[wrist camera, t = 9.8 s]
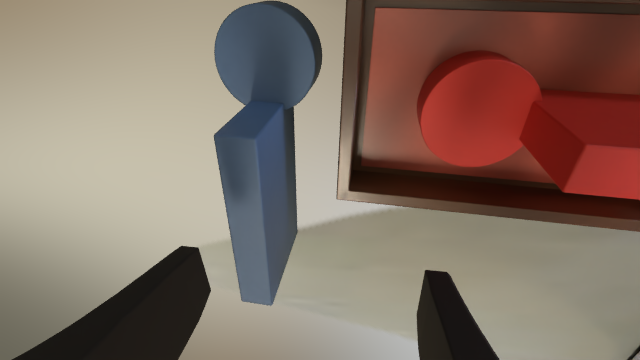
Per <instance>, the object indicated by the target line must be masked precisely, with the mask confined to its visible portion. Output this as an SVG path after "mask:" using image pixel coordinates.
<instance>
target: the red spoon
mask: <svg viewBox="0 0 640 360" xmlns="http://www.w3.org/2000/svg"><path fill="white" fill-rule="evenodd" d="M417 116H418V121H419V125H420V129H421V133H422V136H423V139H424V141H425V143H426V145H427V146H428V148H429V149H430V150H431V151H432V152H433V153H434V154H435V155H436V156H437V157H439V158H440V159H442V160H443V161H445V162H448V163H450V164H453V165H457V166H463V167H480V166H485V165H489V164H493V163H496V162H498V161H501V160H503V159H505V158H507V157H509V156H510V155H512V154H513V153H515V152H516V151H517V150H519V149H520V148H521V147H522V146H523V145H524V146H525V147H526V149H527V150H528V151H529V152H530V153H531V155H532V156H533V157H534V158H535V159H536V161H537V162H538V163H539V164H540V165H541V167H542V168H543V169H544V170H545V171H546V173H547V174H548V175H549V176H550V177H551V179H552V180H553V181H554V182H555V183H556V185H557V186H558V187H559V188H560V189H561V191H562V192H565V193H575V194H585V195H596V196H607V197H617V198H628V199H638V200H640V95H631V94H613V93H596V92H578V91H561V90H543V89H540V88H539V85H538V84H537V82H536V80H535V79H534V77H533V76H532V75H531V74H530V73H529V72H528V71H527V70H526V69H524V68H523V67H521V66H520V65H518V64H516V63H515V62H513V61H512V60H510V59H509V58H507V57H505V56H504V55H501V54H499V53H496V52H492V51H485V50H475V51H469V52H465V53H461V54H458V55H456V56H453V57H451V58H450V59H448V60H446V61H445V62H443V63H442V64H440V65H439V66H438V67H437V68H436V69H435V70H433V72H432V73H431V74H430V75H429V76H428V78H427V79H426V80H425V82H424V84H423V86H422V88H421V90H420V93H419V96H418V100H417Z"/></svg>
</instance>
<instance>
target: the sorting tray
mask: <svg viewBox="0 0 640 360" xmlns="http://www.w3.org/2000/svg"><path fill="white" fill-rule="evenodd" d="M475 50H485V51H492V52H496V53H499V54H501V55H504V56H505V57H507V58H509V59H510V60H512V61H513V62H515V63H516V64H518V65H520V66H521V67H523V68H524V69H526V70H527V71H528V72H529V73H530V74H531V75H532V76H533V77H534V79H535V80H536V82H537V84H538V85H539V88H540V89H543V90H561V91H578V92H596V93H613V94H631V95H640V0H346V17H345V37H344V58H343V78H342V98H341V119H340V140H339V161H338V180H337V199H339V200H348V201H358V202H367V203H376V204H385V205H395V206H404V207H413V208H423V209H432V210H441V211H451V212H460V213H469V214H479V215H488V216H497V217H507V218H516V219H525V220H535V221H544V222H554V223H563V224H572V225H582V226H591V227H600V228H610V229H619V230H628V231H638V232H640V200H638V199H628V198H617V197H607V196H596V195H585V194H575V193H565V192H562V191H561V189H560V188H559V187H558V186H557V185H556V183H555V182H554V181H553V180H552V179H551V177H550V176H549V175H548V174H547V173H546V171H545V170H544V169H543V168H542V167H541V165H540V164H539V163H538V162H537V161H536V159H535V158H534V157H533V156H532V155H531V153H530V152H529V151H528V150H527V149H526V147H525V146H524V145H523V146H522V147H521V148H520V149H519V150H517V151H516V152H515V153H513V154H512V155H510V156H509V157H507V158H505V159H503V160H501V161H498V162H496V163H493V164H489V165H485V166H480V167H463V166H457V165H453V164H450V163H448V162H445V161H443V160H442V159H440V158H439V157H437V156H436V155H435V154H434V153H433V152H432V151H431V150H430V149H429V148H428V146H427V145H426V143H425V141H424V139H423V136H422V133H421V129H420V125H419V121H418V116H417V100H418V96H419V93H420V90H421V88H422V86H423V84H424V82H425V80H426V79H427V78H428V76H429V75H430V74H431V73H432V72H433V70H435V69H436V68H437V67H438V66H439V65H440V64H442V63H443V62H445V61H446V60H448V59H450V58H451V57H453V56H456V55H458V54H461V53H465V52H469V51H475Z"/></svg>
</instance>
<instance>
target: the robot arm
mask: <svg viewBox="0 0 640 360" xmlns="http://www.w3.org/2000/svg"><path fill="white" fill-rule="evenodd" d="M210 292H211V288H210V285H209V282H208V278H207V275H206V272H205V268H204V265H203V262H202V258H201V255H200V252H199V248H197V247H187V246H181V247H179V248H178V249H176V250H175V251H173V252H172V253H171V254H169V255H168V256H167V257H165V258H164V259H163V260H161V261H160V262H159V263H157V264H156V265H155V266H153V267H152V268H151V269H149V270H148V271H147V272H145V273H144V274H143V275H141V276H140V277H139V278H137V279H136V280H135V281H133V282H132V283H131V284H129V285H128V286H127V287H125V288H124V289H123V290H121V291H120V292H119V293H117V294H116V295H114V296H113V297H111V298H110V299H108V300H107V301H105V302H104V303H103V304H101V305H100V306H98V307H97V308H95V309H94V310H92V311H91V312H90V313H88V314H87V315H85V316H84V317H82V318H81V319H79V320H78V321H76V322H75V323H73V324H72V325H70V326H69V327H67V328H65V329H64V330H62V331H61V332H59V333H57V334H56V335H54V336H52V337H51V338H49V339H47V340H46V341H44V342H42V343H41V344H39V345H37V346H36V347H34V348H32V349H30V350H29V351H27V352H25V353H24V354H22V355H20V356H18V357H16V358H14V359H12V360H178V359H179V357H180V355H181V353H182V351H183V350H184V347H185V346H186V344H187V342H188V340H189V338H190V337H191V335H192V333H193V331H194V329H195V327H196V325H197V323H198V322H199V319H200V317H201V315H202V312H203V310H204V307H205V305H206V302H207V299H208V297H209V294H210ZM417 331H418V349H419V357H420V360H499V358H498V357H497V355H496V354H495V352H494V351H493V349H492V347H491V346H490V344H489V343H488V341H487V339H486V338H485V336H484V335H483V333H482V332H481V330H480V328H479V327H478V325H477V323H476V322H475V320H474V318H473V317H472V315H471V313H470V312H469V310H468V308H467V306H466V305H465V303H464V301H463V299H462V297H461V296H460V294H459V292H458V290H457V288H456V286H455V284H454V282H453V280H452V278H451V276H450V275H449V274H448V273H447V272H441V271H430V270H425V274H424V280H423V285H422V290H421V295H420V300H419V306H418V311H417ZM632 360H640V351H639V353H638V354H637V355H636V356H635V357H634V358H633V359H632Z"/></svg>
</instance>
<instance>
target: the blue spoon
mask: <svg viewBox="0 0 640 360" xmlns="http://www.w3.org/2000/svg"><path fill="white" fill-rule="evenodd" d="M214 53H215V62H216V67H217V70H218V73H219V75H220V78H221V80H222V81H223V83H224V85H225V86H226V88H227V89H228V90H229V91H230V93H231V94H232V95H233V96H234V97H235V98H236V99H238V100H239V101H240V102H241V103H243V104H244V105H246V106H245V107H244V108H243V109H242V110H241V111H240V112H238V113H237V114H236V115H235V116H234V117H233V118H232V119H231V120H230V121H229V122H227V123H226V124H225V125H224V126H223V127H222V128H221V129H220V130H219V131H218V132H217V133H215V135H214V141H215V146H216V152H217V158H218V164H219V170H220V175H221V182H222V188H223V194H224V199H225V205H226V211H227V217H228V223H229V229H230V235H231V241H232V247H233V253H234V258H235V264H236V270H237V276H238V282H239V288H240V294H241V300H242V301H244V302H250V303H257V304H263V305H270V306H271V305H272V304H273V301H274V299H275V296H276V293H277V290H278V287H279V284H280V281H281V278H282V275H283V272H284V269H285V267H286V264H287V261H288V258H289V255H290V252H291V249H292V246H293V243H294V240H295V237H296V235H297V206H296V174H295V140H294V107H293V106H295V105H297V104H298V103H299V102H300V101H301V100H302V99H303V98H304V97H305V96H306V94H307V93H308V91H309V90H310V88H311V87H312V85H313V84H314V83H315V81H316V79H317V77H318V75H319V72H320V69H321V64H322V48H321V43H320V39H319V36H318V34H317V32H316V30H315V28H314V26H313V24H312V23H311V22H310V20H309V19H308V18H307V17H306V16H305V15H304V14H303V13H302V12H300V11H299V10H298V9H296V8H295V7H293V6H291V5H289V4H287V3H283V2H279V1H263V2H258V3H253V4H249V5H245V6H242V7H240V8H238V9H236V10H235V11H233V12H232V13H231V14H230V15H229V16H228V17H227V18H226V19H225V20H224V21H223V23H222V25H221V26H220V28H219V31H218V33H217V37H216V41H215V52H214Z"/></svg>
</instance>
